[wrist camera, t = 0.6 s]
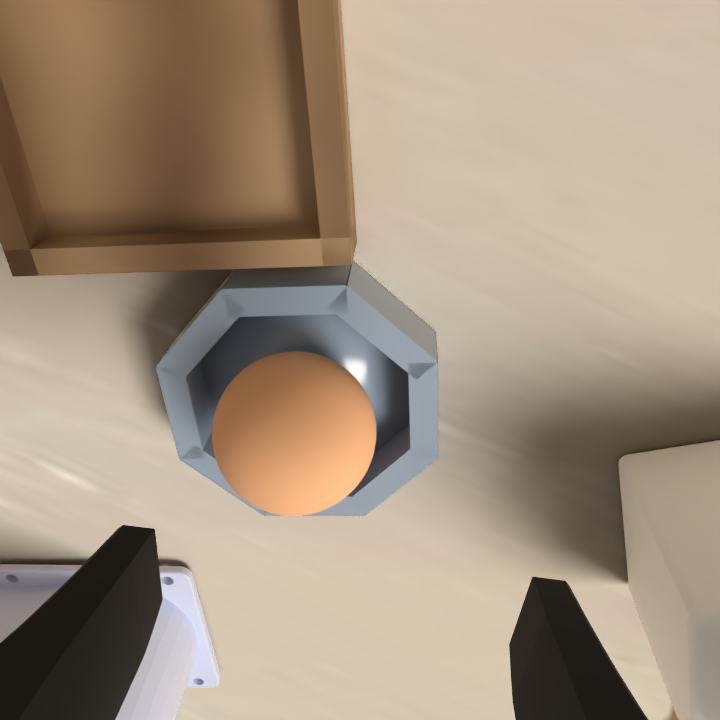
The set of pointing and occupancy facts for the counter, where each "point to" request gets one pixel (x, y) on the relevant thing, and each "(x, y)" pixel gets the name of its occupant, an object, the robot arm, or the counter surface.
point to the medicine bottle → (677, 567)
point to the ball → (294, 433)
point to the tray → (173, 136)
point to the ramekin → (319, 336)
